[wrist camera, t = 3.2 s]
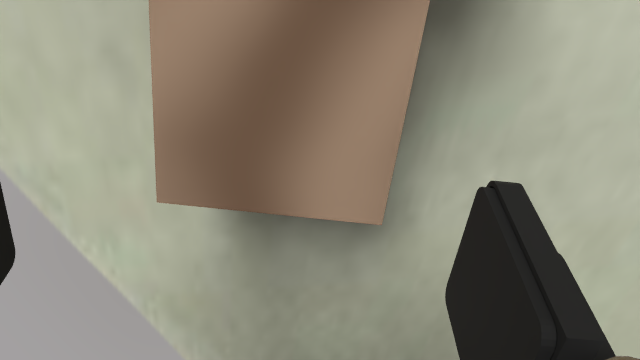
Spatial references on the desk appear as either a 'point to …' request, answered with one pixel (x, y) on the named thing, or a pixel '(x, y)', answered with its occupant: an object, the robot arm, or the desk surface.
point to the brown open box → (282, 103)
